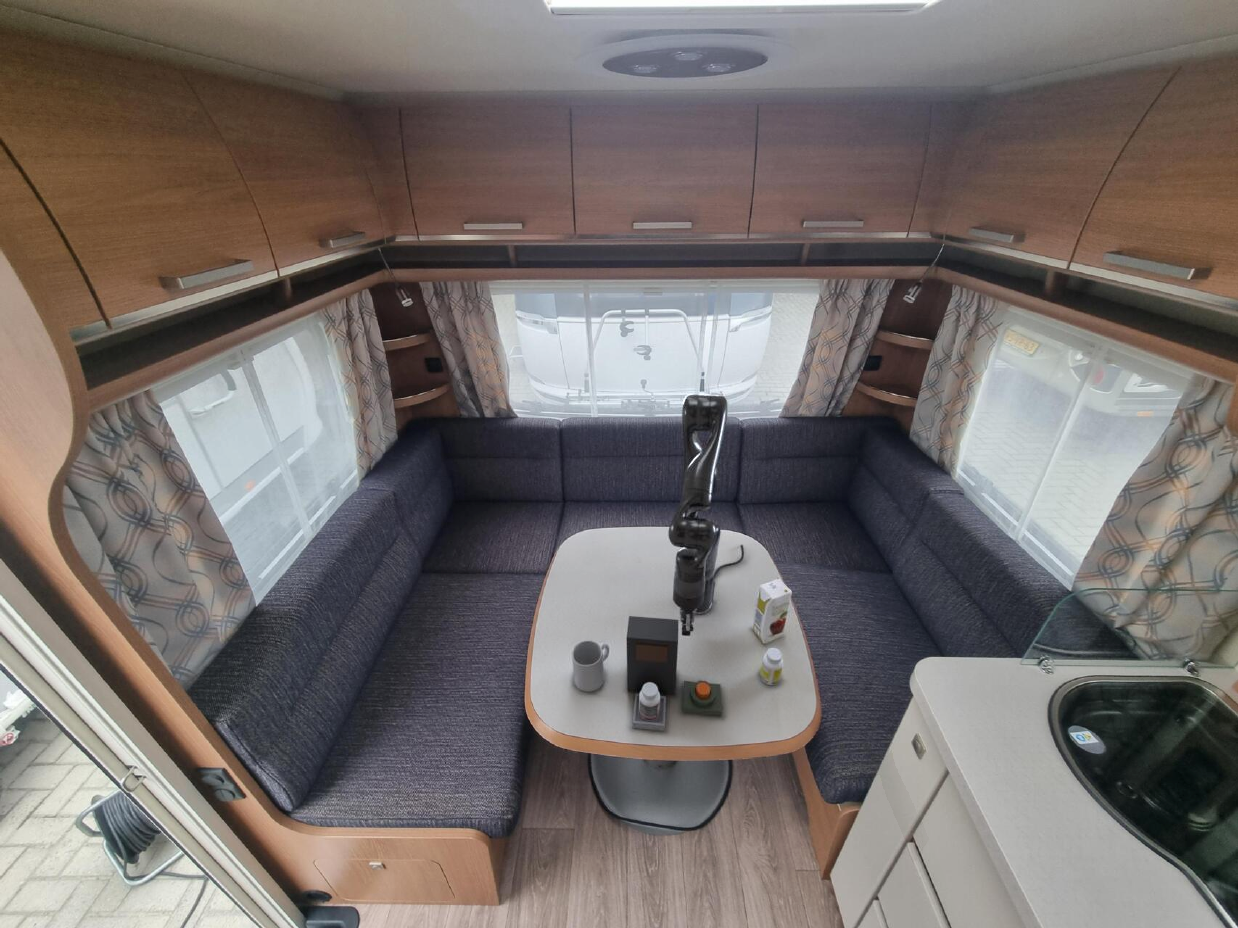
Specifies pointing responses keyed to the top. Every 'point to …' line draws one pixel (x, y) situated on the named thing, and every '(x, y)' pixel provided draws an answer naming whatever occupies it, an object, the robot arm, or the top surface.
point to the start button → (703, 690)
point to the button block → (700, 705)
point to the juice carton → (771, 610)
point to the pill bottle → (649, 702)
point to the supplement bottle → (771, 666)
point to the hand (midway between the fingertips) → (685, 633)
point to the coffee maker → (651, 662)
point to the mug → (589, 664)
